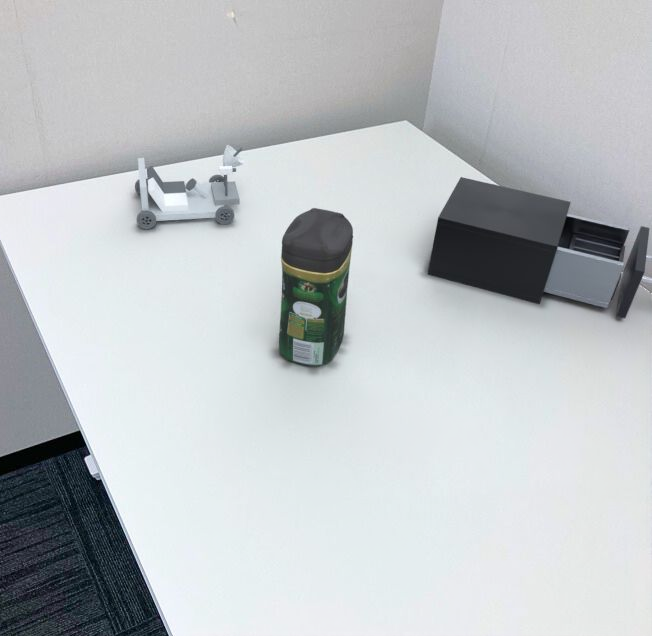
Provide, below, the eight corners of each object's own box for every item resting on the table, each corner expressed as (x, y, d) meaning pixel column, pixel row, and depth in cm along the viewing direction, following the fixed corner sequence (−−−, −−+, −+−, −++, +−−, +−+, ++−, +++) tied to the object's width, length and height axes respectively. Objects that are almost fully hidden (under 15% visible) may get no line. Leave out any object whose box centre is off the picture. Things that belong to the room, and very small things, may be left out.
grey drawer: (665, 281, 112) (685, 236, 107) (661, 328, 103) (683, 281, 98) (528, 247, 118) (541, 203, 113) (514, 289, 109) (527, 243, 104)
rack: (616, 268, 112) (625, 245, 110) (611, 300, 106) (620, 277, 103) (565, 256, 114) (572, 233, 112) (557, 286, 108) (565, 263, 105)
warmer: (553, 257, 118) (570, 201, 112) (539, 304, 108) (557, 246, 102) (449, 231, 122) (460, 176, 116) (427, 274, 112) (438, 217, 106)
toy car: (240, 135, 123) (251, 167, 115) (241, 188, 130) (250, 223, 121) (129, 139, 120) (131, 173, 112) (135, 194, 127) (137, 230, 118)
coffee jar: (293, 317, 103) (299, 197, 91) (348, 330, 101) (362, 209, 89) (269, 361, 96) (272, 236, 84) (328, 375, 94) (340, 251, 82)
